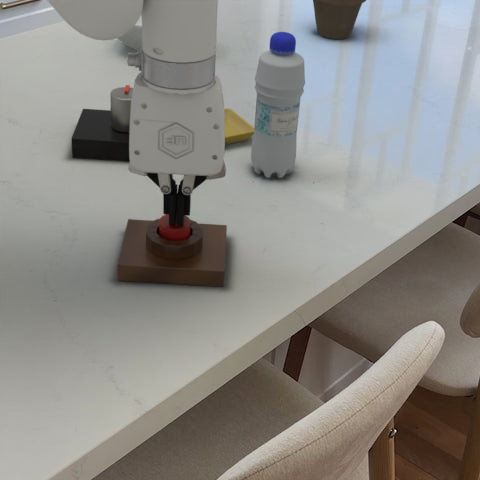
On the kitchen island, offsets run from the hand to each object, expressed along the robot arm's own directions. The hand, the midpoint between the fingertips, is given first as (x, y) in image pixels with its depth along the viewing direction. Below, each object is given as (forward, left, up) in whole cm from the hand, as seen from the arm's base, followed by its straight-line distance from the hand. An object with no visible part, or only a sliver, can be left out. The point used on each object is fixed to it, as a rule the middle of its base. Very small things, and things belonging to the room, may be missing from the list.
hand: (176, 218), depth 102 cm
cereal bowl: (-8, +68, -6) cm, 69 cm away
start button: (0, 0, -2) cm, 2 cm away
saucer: (+4, +34, -6) cm, 35 cm away
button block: (0, 0, -6) cm, 6 cm away
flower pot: (+25, +83, -6) cm, 87 cm away
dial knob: (-9, +29, -3) cm, 31 cm away
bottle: (+12, +24, -6) cm, 27 cm away
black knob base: (-9, +29, -6) cm, 31 cm away
